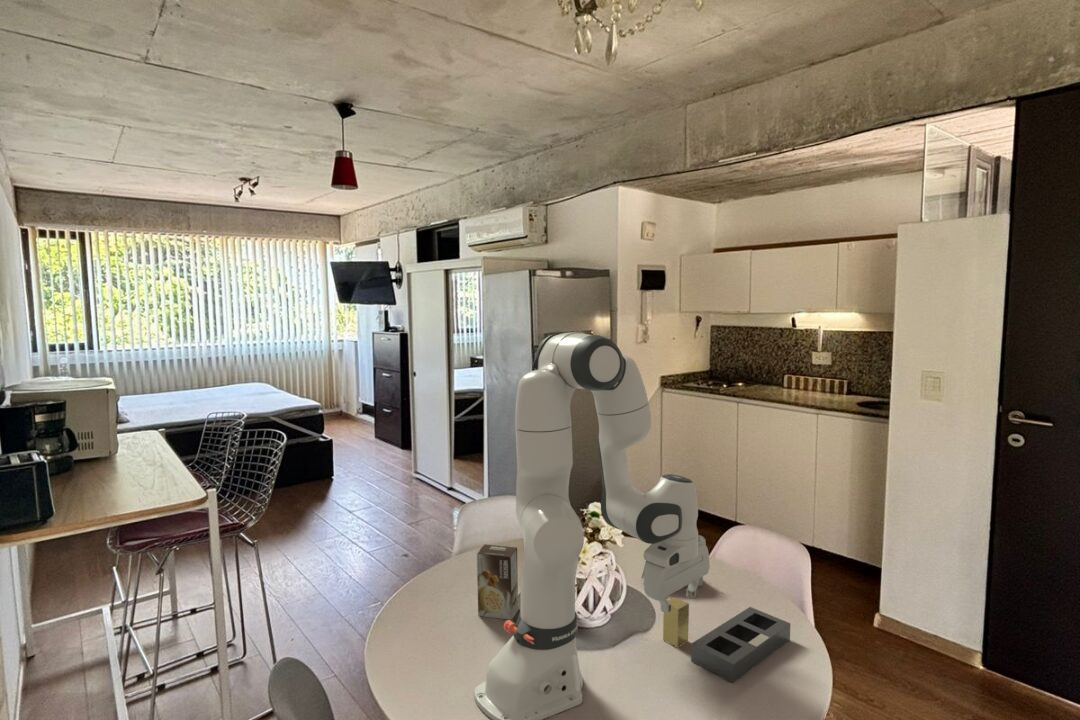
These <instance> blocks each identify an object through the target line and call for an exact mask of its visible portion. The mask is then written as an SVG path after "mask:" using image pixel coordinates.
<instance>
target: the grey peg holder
mask: <svg viewBox="0 0 1080 720" xmlns="http://www.w3.org/2000/svg"><path fill="white" fill-rule="evenodd" d="M790 640H791V622H789V621H786V620H783V619H782V618H781V619H780V618H778V617H776V616H773V615H771V614H769V613H766V612H764V611H761V610H759V609H757V608H754V607H752V606H749V607H748V608H746V609H744V610H743V611H741V612H739V613H738V614H736V615H735V616H733V617H731V618H729V620H726V621H725V622H724V623H722V624H720V625H719V626H717V627H715V628H714V629H712V630H711V631H709V632H708V633H706V634H704V635H703V636H701V637H699V638H698V639H697V640H694V641H693V642H691V647H690V648H691V651H690V652H691V653H690V661H691V663H694V664H695V663H696V665H698V666H700V667H701V668H703V669H705V670H707V671H709V672H711V673H712V674H715V675H717V676H718V677H720V678H721V679H724V680H726V681H728V682H730V683H732V684H734V683H735V682H737V681H738V680H740V678H742V677H743V676H744V675H746V674H748V673H749V672H750V671H751V670H752V669H754V668H755V667H757V666H758V665H760V663H762V662H763V661H764V660H766V659H767V658H769V656H771V655H773V654H774V653H775V652H776V651H777V650H779V649H780V648H782V647H783V646H784V645H785V644H787V643H788V642H789V641H790Z"/></svg>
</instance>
